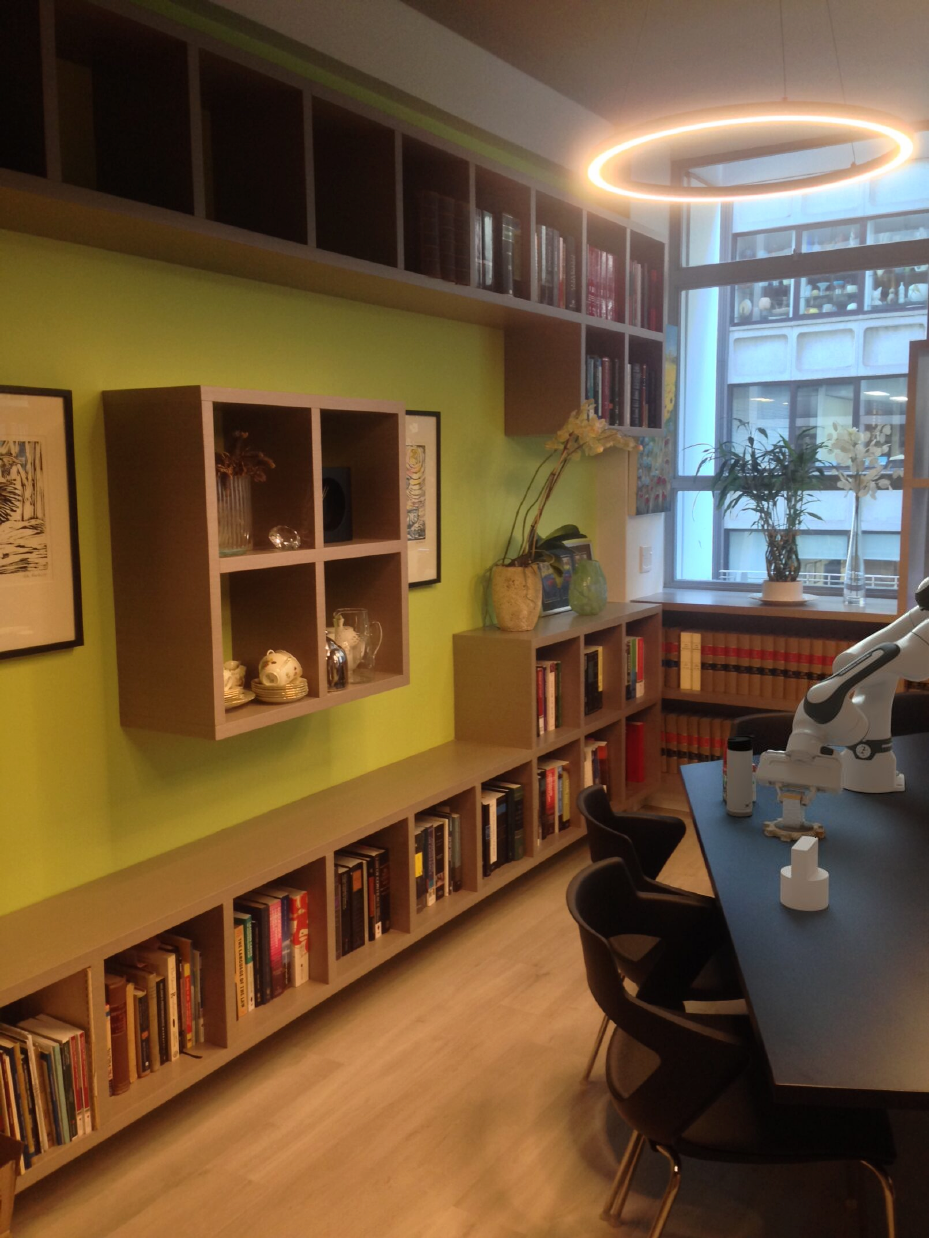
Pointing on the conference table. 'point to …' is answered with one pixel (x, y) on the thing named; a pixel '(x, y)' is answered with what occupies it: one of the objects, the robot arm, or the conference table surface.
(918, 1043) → the conference table surface
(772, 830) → the toothed wheel
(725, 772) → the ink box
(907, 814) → the conference table surface
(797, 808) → the link block
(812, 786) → the robot arm
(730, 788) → the travel mug
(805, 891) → the base with upright slab
